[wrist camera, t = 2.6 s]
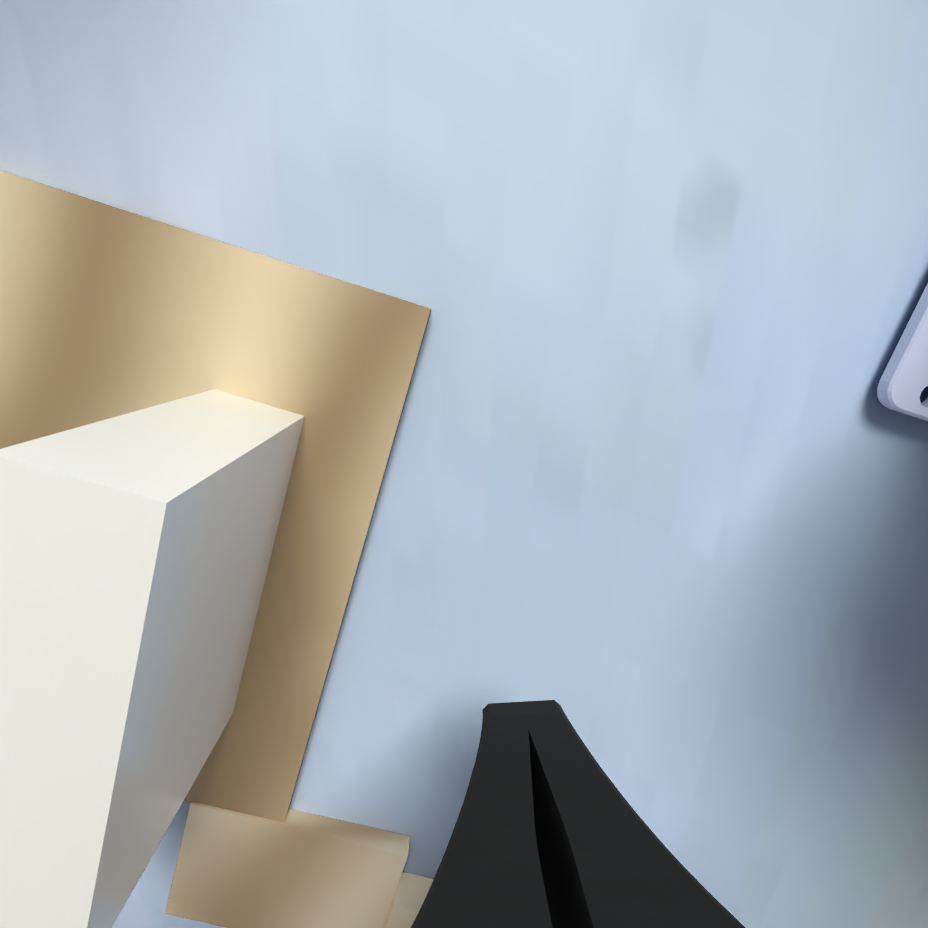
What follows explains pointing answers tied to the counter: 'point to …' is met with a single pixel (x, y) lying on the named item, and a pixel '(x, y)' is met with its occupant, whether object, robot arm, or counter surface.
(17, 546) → the white block
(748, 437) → the counter surface
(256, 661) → the bamboo mat
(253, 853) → the beech spatula
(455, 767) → the counter surface
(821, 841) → the counter surface
